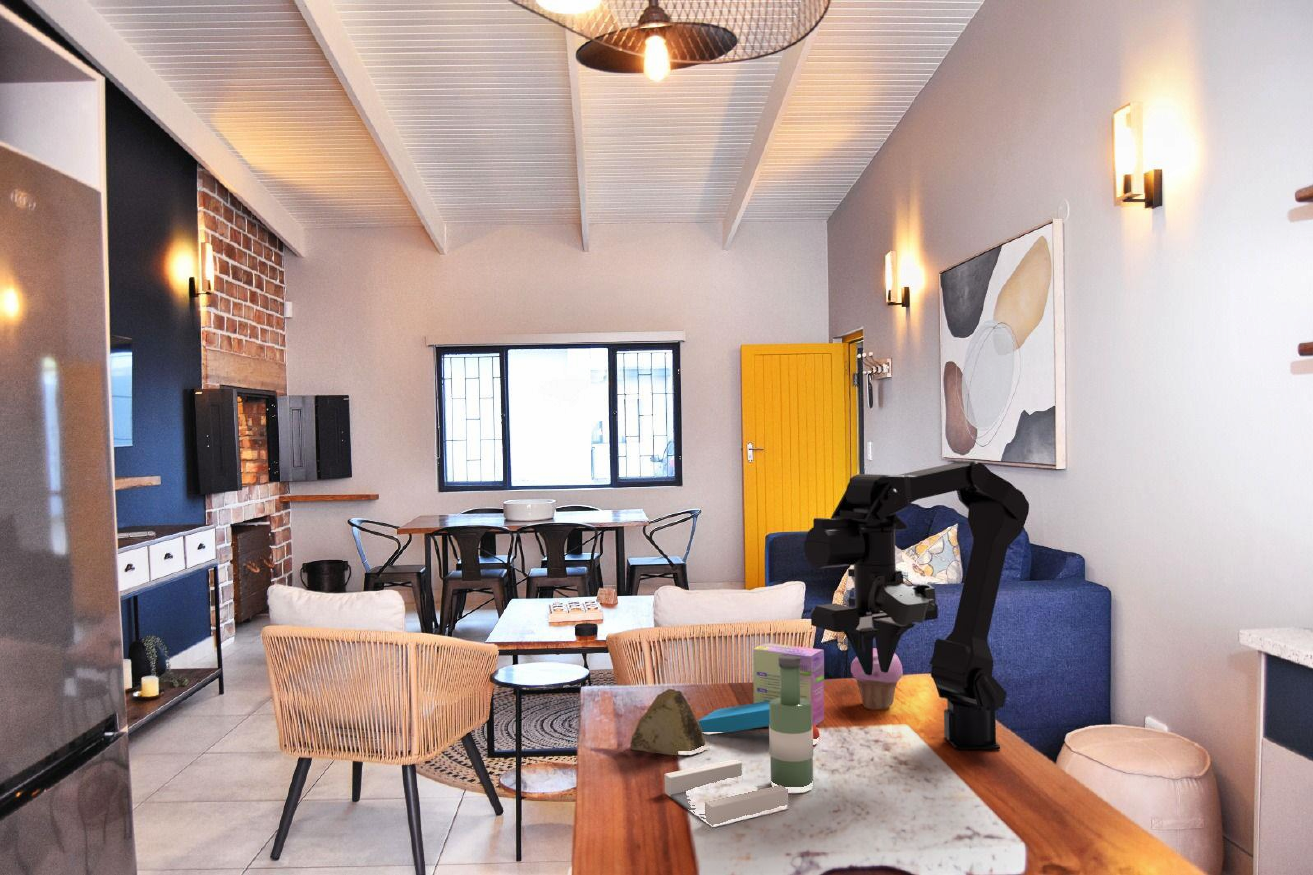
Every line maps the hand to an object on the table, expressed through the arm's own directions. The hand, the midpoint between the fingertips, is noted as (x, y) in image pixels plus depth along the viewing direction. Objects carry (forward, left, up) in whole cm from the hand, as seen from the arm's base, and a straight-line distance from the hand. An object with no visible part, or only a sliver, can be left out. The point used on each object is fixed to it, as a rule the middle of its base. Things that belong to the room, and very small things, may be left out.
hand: (876, 673), depth 125 cm
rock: (+30, -7, -13) cm, 33 cm away
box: (+10, -21, -13) cm, 27 cm away
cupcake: (-6, -28, -13) cm, 32 cm away
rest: (+22, +12, -13) cm, 28 cm away
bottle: (+13, +7, -13) cm, 20 cm away
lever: (+15, -13, -14) cm, 24 cm away
